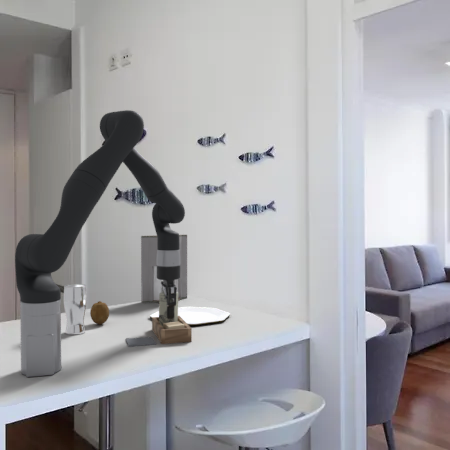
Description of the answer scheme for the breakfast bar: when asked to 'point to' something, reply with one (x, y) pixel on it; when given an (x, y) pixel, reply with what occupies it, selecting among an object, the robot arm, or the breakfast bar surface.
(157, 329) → the wooden tray
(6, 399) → the breakfast bar surface
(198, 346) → the breakfast bar surface
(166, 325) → the offcut
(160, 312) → the box
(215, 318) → the plate
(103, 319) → the fruit
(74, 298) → the beer glass
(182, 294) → the cabinet
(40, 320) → the robot arm
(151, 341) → the mat
